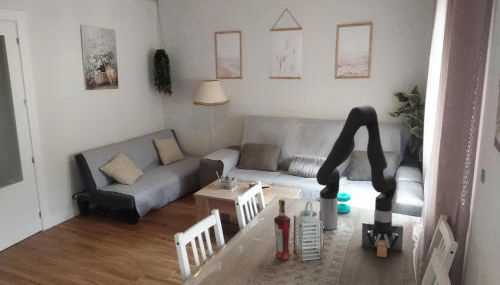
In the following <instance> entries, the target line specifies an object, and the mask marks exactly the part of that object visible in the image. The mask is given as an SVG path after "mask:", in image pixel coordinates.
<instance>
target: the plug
mask: <svg viewBox="0 0 500 285" xmlns="http://www.w3.org/2000/svg"><path fill="white" fill-rule="evenodd" d="M387 256H388V255H387V244H386V241H385V240H379V242H378V245H377V254H376V257H381V258H387Z"/></svg>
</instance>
